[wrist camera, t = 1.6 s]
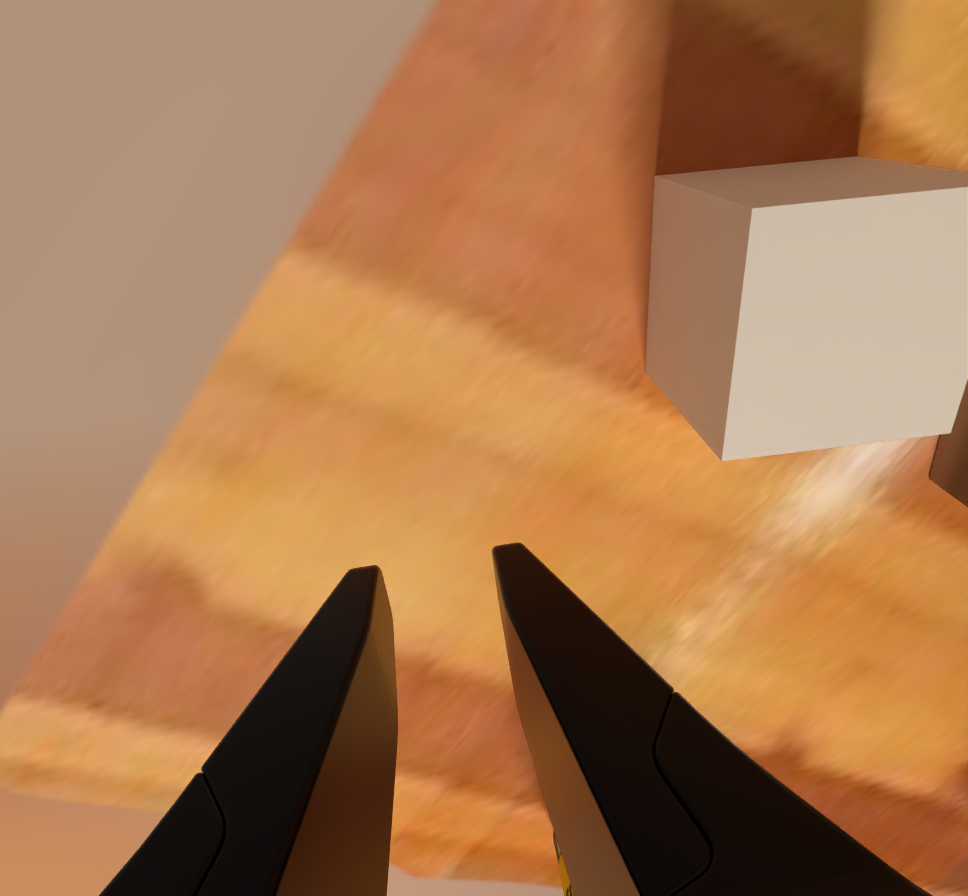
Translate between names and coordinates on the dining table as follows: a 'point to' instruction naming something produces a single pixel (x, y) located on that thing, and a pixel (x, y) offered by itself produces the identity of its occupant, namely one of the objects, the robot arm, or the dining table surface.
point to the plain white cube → (810, 303)
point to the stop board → (954, 456)
